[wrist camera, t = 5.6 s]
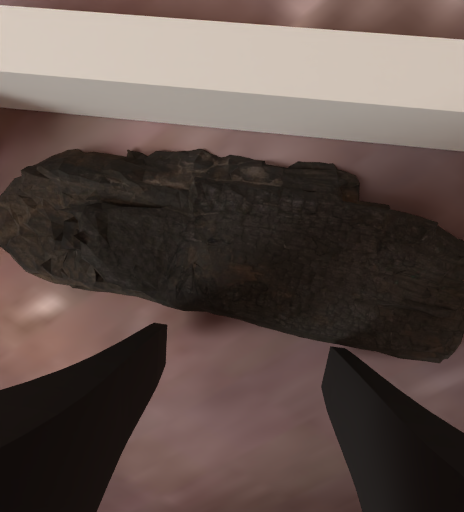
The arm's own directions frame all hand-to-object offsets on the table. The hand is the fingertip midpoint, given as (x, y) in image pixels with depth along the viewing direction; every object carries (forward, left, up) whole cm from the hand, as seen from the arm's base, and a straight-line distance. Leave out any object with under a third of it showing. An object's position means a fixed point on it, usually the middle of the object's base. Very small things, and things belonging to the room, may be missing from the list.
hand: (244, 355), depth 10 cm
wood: (+5, +1, -2) cm, 5 cm away
